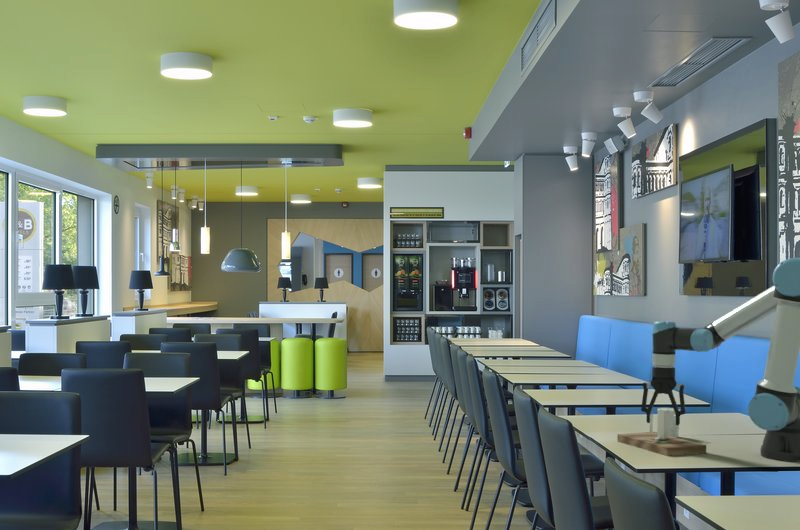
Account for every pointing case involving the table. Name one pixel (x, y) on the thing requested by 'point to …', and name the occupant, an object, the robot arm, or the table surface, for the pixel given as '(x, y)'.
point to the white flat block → (662, 424)
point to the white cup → (671, 422)
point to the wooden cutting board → (661, 444)
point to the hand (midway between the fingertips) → (662, 433)
